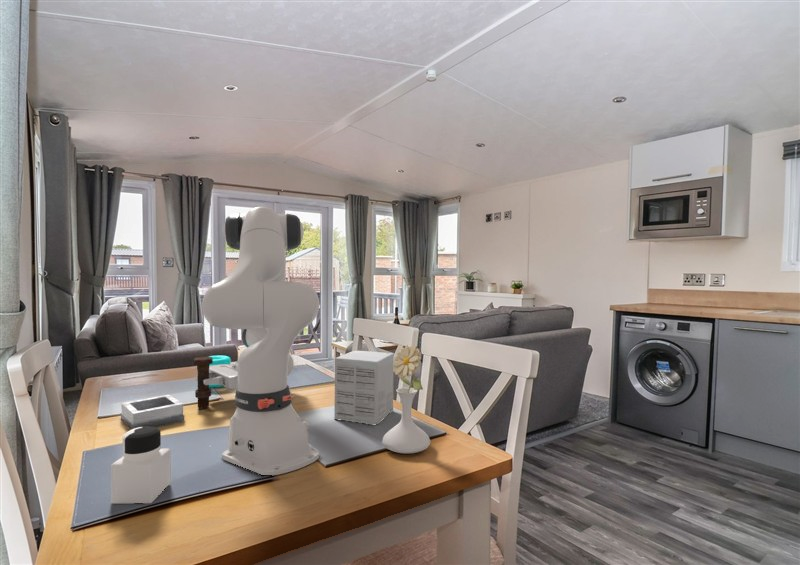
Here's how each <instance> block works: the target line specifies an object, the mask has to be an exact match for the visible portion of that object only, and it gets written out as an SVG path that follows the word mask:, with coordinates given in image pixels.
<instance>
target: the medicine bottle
mask: <svg viewBox="0 0 800 565" xmlns="http://www.w3.org/2000/svg"><path fill="white" fill-rule="evenodd" d="M161 432H162V431H161V429H160V428H159V427H152V426H144V427H138V428H135V429H130V430H129V431H126V432H124V434H123V435H122V457H120V458H119V459H117V460H115V461H114V462H113V463H111V465H110V491H111V492H110V501H111V504H114V505H115V504H116V505H117V504H119V505H120V504H121V505H122V504H126V505H127V504H131V505H132V504H134V503H143V504H152V503H153V502H154V501H155V500H156V499H157V498H158V497H159V496H160V495H161V494H162V493H163V492H164V491H165V490H166V489H167V488H168V487H169V486H170V485H171V482H172V480H171V479H172V478H171V467H172V466H171V457H172V456H171V449H170V448H162V447H161V444H162V443H161V437H162V434H161ZM169 484H170V485H169ZM168 485H169V486H168ZM167 486H168V487H167ZM166 487H167V488H166ZM165 488H166V489H165ZM164 489H165V490H164ZM162 491H163V492H162ZM158 495H159V496H158Z"/></svg>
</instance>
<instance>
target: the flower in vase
mask: <svg viewBox="0 0 800 565" xmlns="http://www.w3.org/2000/svg"><path fill="white" fill-rule="evenodd" d="M421 360H422V352H421V351H420V349H419V348H417V347H416V345H414V344H411V345H410V346H409V345H405V347H402V348H400V351H397V352H396V356H395V355H394V363H393V366H394V369H393V372H394V375H395V376H398V378H399V379H400V380H401V381H402V382H403V383H404V384H406V385H407V386H408V387H398V388H397V389H396V390H395V391H396V393H397V394H398V396H399V399H400V403H401V418H400V421H399V422H398V423H397V424H396V425H394V426H393V427H392V428H391V429H389V430H388V431H387V432H385V434H384V435H383V437H382V441H381V442H382V444H383V446H384V447H385V449H387V450H388V451H389V450H390V451H392V452H395V453H398V454H405V455H406V454H415V453H420V452H423V451H425V450H427V449H428V447H429V446H430V445H431V439H430V437H429V435H428V434H427V433H426V432H425V431H424V430H423V429H422V428H420V427H419V426H418V425H417V424H416V423H415V422H414V421H413V419H412V408H413V407H412V406H413V401H414V398H415V396H416V394H417V393H418V392H419V390H420V391H423V390H424V388H423V386H422V385H423V384H422V382H421V381H422V380H421V379H420V378H417V379H416V378H415V377H416V376H415V372H416V371H417V370H418V369H419V366H420V365H421V364H422V361H421ZM410 376H412V381H411V383H410V380H409V379H407V378H406V377H410ZM412 386H413V387H412Z"/></svg>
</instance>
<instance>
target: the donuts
mask: <svg viewBox="0 0 800 565" xmlns="http://www.w3.org/2000/svg"><path fill="white" fill-rule="evenodd" d="M208 357H212V358H213V364H210V365H209V366H212V365H222V364H228V365H230V364H231V362H232V359H231V357H230V356H228V355H218V354H217V355H209V356H208ZM209 387H211V388H210V389H216V388H217V389H218V388H223V387H224V386H222V385H209ZM224 388H225V387H224Z"/></svg>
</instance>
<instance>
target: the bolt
mask: <svg viewBox="0 0 800 565" xmlns="http://www.w3.org/2000/svg"><path fill="white" fill-rule="evenodd" d="M210 364H213V358H212V357H209V356H199V357H195V358H193V366H196V370H197V374H196V375H197V379H198V381H197V387H196V388H197V389H196V390H195V393H194V396H195V398H196V399H197V408H198V409H199V410H200V409H201V410H206V409H208V408H209V407H210V397H211V396H212V388H209V385H205V384H203V380H204V379H205V378H209V365H210Z"/></svg>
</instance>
